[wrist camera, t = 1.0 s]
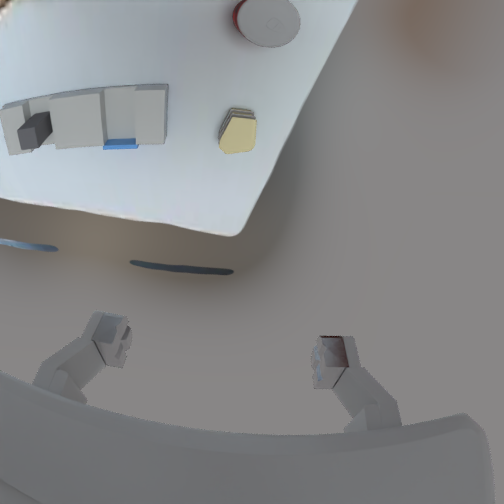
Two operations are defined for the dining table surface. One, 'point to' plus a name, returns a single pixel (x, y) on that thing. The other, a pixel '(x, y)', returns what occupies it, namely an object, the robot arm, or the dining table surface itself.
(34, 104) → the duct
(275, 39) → the canned food
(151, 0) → the dining table surface
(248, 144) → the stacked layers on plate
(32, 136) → the dark grey rectangular box
